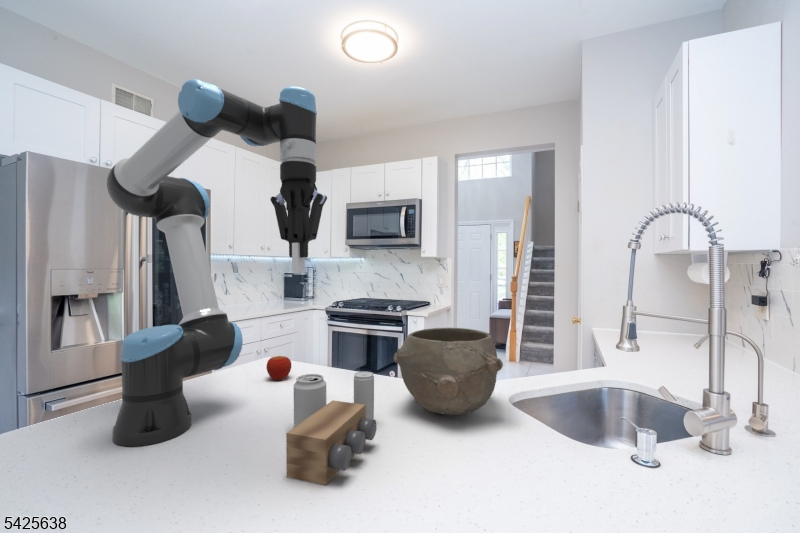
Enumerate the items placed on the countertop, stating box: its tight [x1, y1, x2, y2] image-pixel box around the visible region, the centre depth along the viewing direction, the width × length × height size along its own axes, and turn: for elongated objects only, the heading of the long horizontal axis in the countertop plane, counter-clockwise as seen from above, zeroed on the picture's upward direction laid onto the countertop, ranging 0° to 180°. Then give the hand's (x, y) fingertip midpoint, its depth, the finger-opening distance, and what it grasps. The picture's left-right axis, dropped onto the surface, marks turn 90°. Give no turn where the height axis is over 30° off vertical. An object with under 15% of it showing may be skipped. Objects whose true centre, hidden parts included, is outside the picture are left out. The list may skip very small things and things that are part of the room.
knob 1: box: [328, 444, 352, 472], centre depth 69 cm, size 11×4×4 cm, turn 71°
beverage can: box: [353, 371, 375, 420], centre depth 91 cm, size 5×5×12 cm
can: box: [293, 373, 327, 428], centre depth 89 cm, size 8×8×12 cm
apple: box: [266, 355, 292, 381], centre depth 126 cm, size 8×8×8 cm
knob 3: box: [358, 418, 377, 441], centre depth 81 cm, size 11×4×4 cm, turn 71°
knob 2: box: [344, 430, 366, 455], centre depth 75 cm, size 11×4×4 cm, turn 71°
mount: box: [285, 399, 367, 486], centre depth 75 cm, size 8×17×8 cm, turn 161°
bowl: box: [393, 327, 504, 416], centre depth 101 cm, size 27×29×20 cm
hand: (298, 272), depth 83 cm, fingers closed
